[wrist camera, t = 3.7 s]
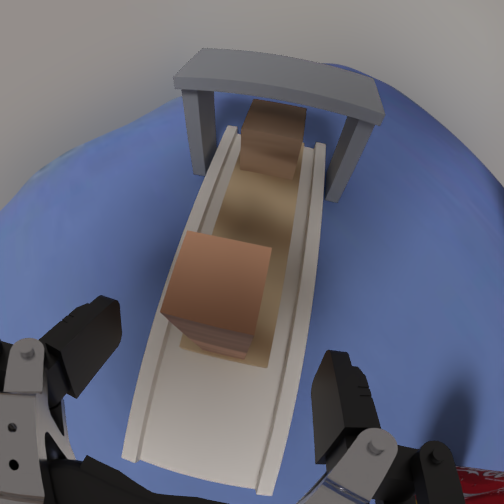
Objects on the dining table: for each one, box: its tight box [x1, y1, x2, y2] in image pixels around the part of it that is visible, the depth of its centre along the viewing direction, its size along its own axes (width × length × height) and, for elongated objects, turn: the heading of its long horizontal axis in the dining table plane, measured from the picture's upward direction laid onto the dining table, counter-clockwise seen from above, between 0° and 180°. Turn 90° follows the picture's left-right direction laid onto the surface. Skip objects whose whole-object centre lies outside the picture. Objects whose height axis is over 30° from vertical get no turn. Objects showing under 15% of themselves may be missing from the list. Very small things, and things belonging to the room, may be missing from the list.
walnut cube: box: [240, 99, 307, 180], centre depth 21 cm, size 4×4×4 cm
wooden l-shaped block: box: [160, 143, 304, 368], centre depth 16 cm, size 20×6×11 cm, turn 168°
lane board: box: [122, 48, 385, 496], centre depth 15 cm, size 30×14×11 cm, turn 168°
